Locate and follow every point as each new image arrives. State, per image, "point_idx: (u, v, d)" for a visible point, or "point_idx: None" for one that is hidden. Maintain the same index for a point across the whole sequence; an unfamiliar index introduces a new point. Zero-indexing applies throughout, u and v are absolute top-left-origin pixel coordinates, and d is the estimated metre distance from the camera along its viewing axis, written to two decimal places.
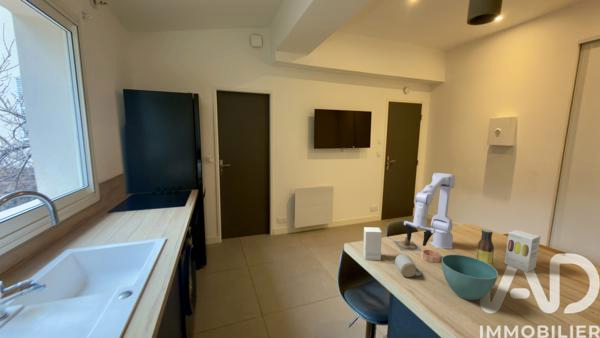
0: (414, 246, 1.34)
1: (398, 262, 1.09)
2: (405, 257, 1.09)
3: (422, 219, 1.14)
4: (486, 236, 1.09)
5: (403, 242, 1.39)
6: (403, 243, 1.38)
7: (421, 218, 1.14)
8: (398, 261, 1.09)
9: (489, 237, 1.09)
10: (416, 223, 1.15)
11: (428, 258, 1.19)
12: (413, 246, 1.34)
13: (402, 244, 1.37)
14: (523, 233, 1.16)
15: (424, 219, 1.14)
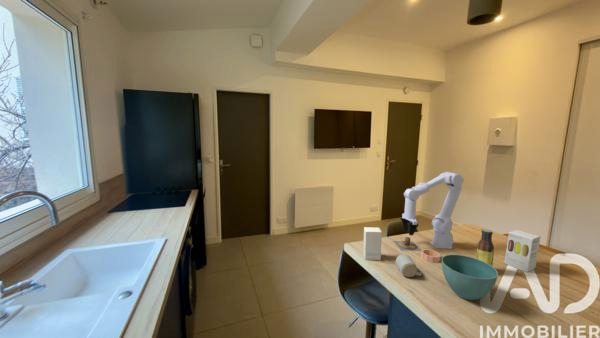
0: (414, 246, 1.34)
1: (399, 262, 1.09)
2: (406, 257, 1.09)
3: (407, 212, 1.32)
4: (486, 236, 1.09)
5: (403, 242, 1.39)
6: (403, 243, 1.38)
7: (407, 211, 1.33)
8: (398, 262, 1.09)
9: (489, 237, 1.09)
10: (404, 215, 1.35)
11: (428, 258, 1.19)
12: (413, 246, 1.34)
13: (402, 244, 1.37)
14: (523, 233, 1.16)
15: (409, 212, 1.32)
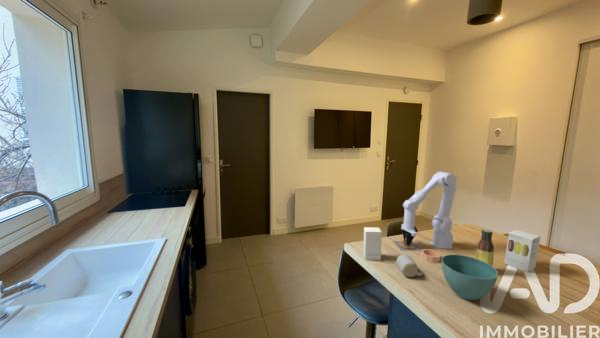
0: (414, 246, 1.34)
1: (399, 262, 1.09)
2: (406, 257, 1.09)
3: (406, 223, 1.33)
4: (486, 236, 1.09)
5: (403, 242, 1.39)
6: (403, 243, 1.38)
7: (406, 222, 1.33)
8: (399, 262, 1.09)
9: (489, 237, 1.09)
10: (403, 226, 1.36)
11: (428, 258, 1.19)
12: (413, 246, 1.34)
13: (402, 244, 1.37)
14: (523, 233, 1.16)
15: (408, 223, 1.32)
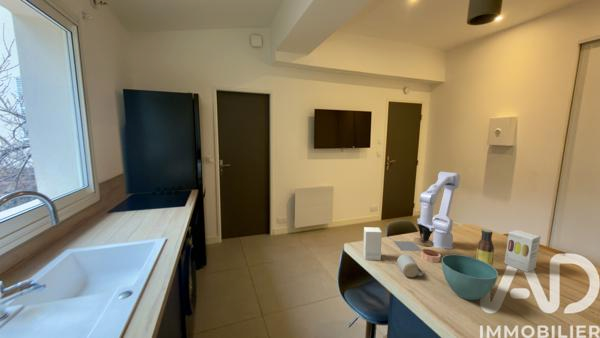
0: (431, 243, 1.23)
1: (400, 262, 1.09)
2: (407, 257, 1.09)
3: (424, 217, 1.22)
4: (486, 236, 1.09)
5: (419, 239, 1.29)
6: (419, 239, 1.28)
7: (423, 216, 1.23)
8: (400, 262, 1.09)
9: (489, 237, 1.09)
10: (420, 220, 1.25)
11: (428, 258, 1.19)
12: (430, 243, 1.23)
13: (418, 241, 1.26)
14: (523, 233, 1.16)
15: (426, 217, 1.22)
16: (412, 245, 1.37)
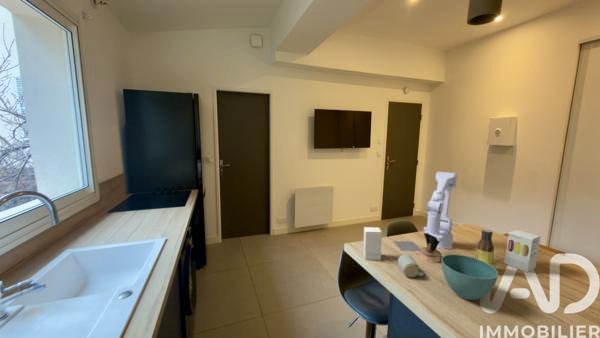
0: (438, 254, 1.20)
1: (401, 262, 1.09)
2: (408, 257, 1.09)
3: (431, 226, 1.19)
4: (486, 236, 1.09)
5: (426, 248, 1.25)
6: (426, 249, 1.24)
7: (430, 225, 1.19)
8: (400, 262, 1.09)
9: (489, 237, 1.09)
10: (427, 230, 1.21)
11: (428, 258, 1.19)
12: (437, 253, 1.20)
13: (424, 251, 1.22)
14: (523, 233, 1.16)
15: (433, 227, 1.18)
16: (412, 245, 1.37)
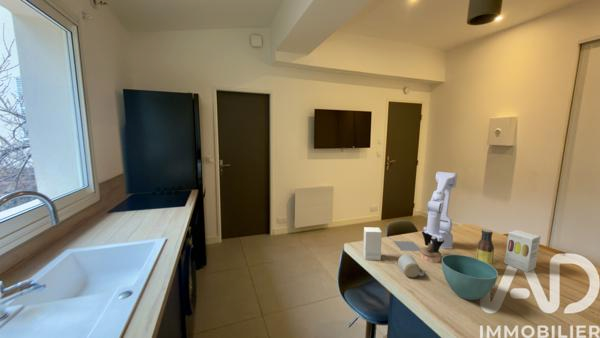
0: (438, 254, 1.20)
1: (401, 262, 1.09)
2: (408, 257, 1.09)
3: (431, 226, 1.19)
4: (486, 236, 1.09)
5: (426, 249, 1.25)
6: (426, 249, 1.24)
7: (430, 225, 1.19)
8: (401, 262, 1.09)
9: (489, 237, 1.09)
10: (427, 230, 1.21)
11: (428, 258, 1.19)
12: (437, 254, 1.20)
13: (424, 251, 1.22)
14: (523, 233, 1.16)
15: (433, 227, 1.18)
16: (412, 245, 1.37)
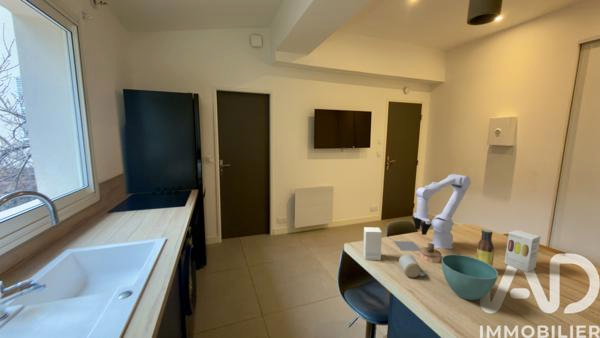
0: (438, 254, 1.20)
1: (402, 262, 1.09)
2: (409, 257, 1.09)
3: (420, 211, 1.30)
4: (486, 236, 1.09)
5: (426, 249, 1.25)
6: (426, 249, 1.24)
7: (419, 210, 1.30)
8: (402, 262, 1.09)
9: (489, 237, 1.09)
10: (416, 214, 1.32)
11: (428, 258, 1.19)
12: (437, 254, 1.20)
13: (424, 251, 1.22)
14: (523, 233, 1.16)
15: (422, 211, 1.29)
16: (412, 245, 1.37)
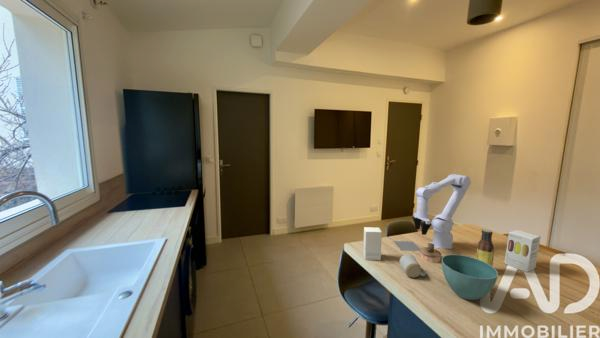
0: (438, 254, 1.20)
1: (403, 262, 1.09)
2: (410, 257, 1.09)
3: (420, 211, 1.30)
4: (486, 236, 1.09)
5: (426, 249, 1.25)
6: (426, 249, 1.24)
7: (419, 210, 1.30)
8: (402, 262, 1.09)
9: (489, 237, 1.09)
10: (416, 214, 1.32)
11: (428, 258, 1.19)
12: (437, 254, 1.20)
13: (424, 251, 1.22)
14: (523, 233, 1.16)
15: (422, 211, 1.29)
16: (412, 245, 1.37)
